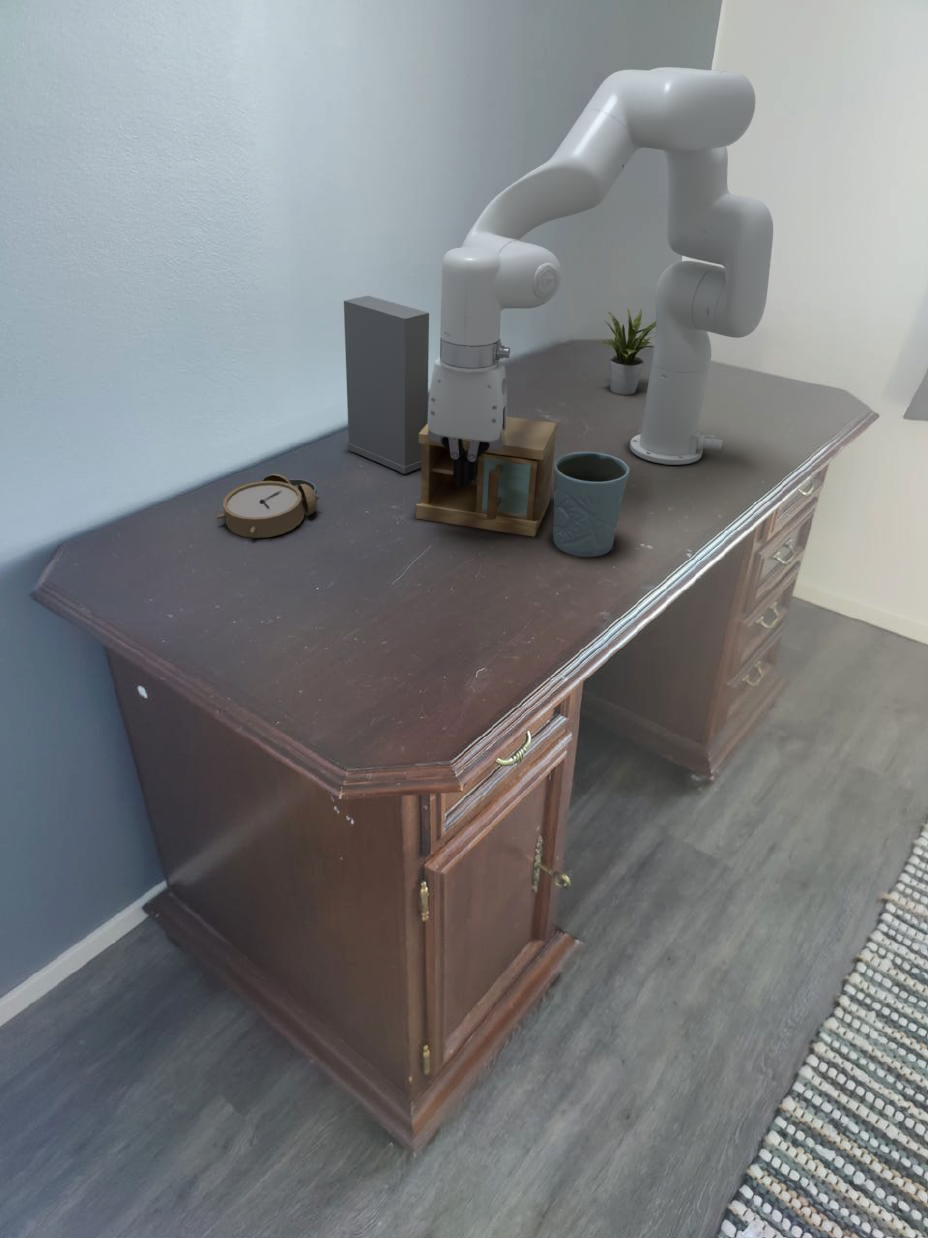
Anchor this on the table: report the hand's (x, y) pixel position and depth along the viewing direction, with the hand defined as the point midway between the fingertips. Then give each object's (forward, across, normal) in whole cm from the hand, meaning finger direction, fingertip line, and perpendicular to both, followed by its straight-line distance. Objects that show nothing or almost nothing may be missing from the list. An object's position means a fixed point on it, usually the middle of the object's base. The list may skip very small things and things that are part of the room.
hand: (464, 483), depth 125 cm
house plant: (+9, -17, -70) cm, 73 cm away
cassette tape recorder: (+8, +19, -23) cm, 31 cm away
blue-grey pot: (+8, -17, -3) cm, 19 cm away
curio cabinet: (+8, -1, -9) cm, 12 cm away
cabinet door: (+6, -5, -2) cm, 8 cm away
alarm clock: (+8, +28, +3) cm, 29 cm away
